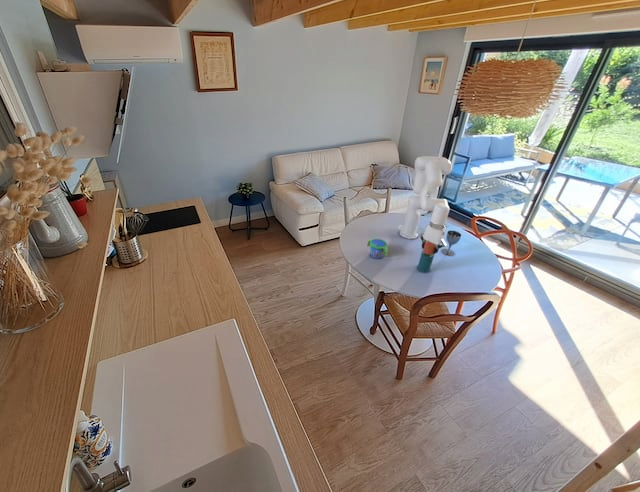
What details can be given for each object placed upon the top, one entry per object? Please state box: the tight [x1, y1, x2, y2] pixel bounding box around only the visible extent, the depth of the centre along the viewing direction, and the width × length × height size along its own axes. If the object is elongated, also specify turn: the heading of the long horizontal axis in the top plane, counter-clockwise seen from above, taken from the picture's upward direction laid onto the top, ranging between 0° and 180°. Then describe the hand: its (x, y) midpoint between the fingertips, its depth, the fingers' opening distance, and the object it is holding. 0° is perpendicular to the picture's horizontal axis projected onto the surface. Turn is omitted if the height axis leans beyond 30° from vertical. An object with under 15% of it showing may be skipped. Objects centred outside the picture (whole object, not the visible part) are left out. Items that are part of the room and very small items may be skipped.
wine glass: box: [441, 230, 462, 257], centre depth 189 cm, size 8×8×15 cm
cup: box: [422, 241, 436, 255], centre depth 169 cm, size 6×6×6 cm
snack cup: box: [366, 238, 389, 259], centre depth 188 cm, size 16×10×10 cm
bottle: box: [416, 250, 435, 274], centre depth 174 cm, size 7×7×16 cm
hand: (429, 250), depth 170 cm, fingers closed on cup, 6 cm apart
